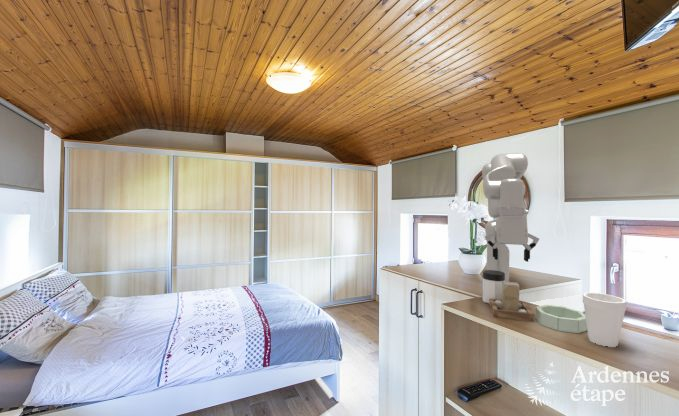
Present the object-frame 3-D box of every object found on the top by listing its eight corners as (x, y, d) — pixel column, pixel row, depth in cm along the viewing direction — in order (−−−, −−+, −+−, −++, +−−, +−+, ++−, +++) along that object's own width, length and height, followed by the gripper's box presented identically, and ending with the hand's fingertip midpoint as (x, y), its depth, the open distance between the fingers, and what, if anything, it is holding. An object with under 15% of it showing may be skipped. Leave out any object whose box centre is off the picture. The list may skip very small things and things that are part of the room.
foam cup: (629, 353, 81) (630, 305, 81) (585, 344, 86) (586, 299, 85) (619, 339, 89) (621, 295, 89) (580, 332, 94) (581, 290, 94)
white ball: (516, 315, 107) (516, 307, 107) (526, 316, 106) (526, 308, 106) (518, 318, 104) (518, 310, 104) (528, 319, 103) (528, 311, 103)
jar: (509, 302, 121) (509, 272, 121) (500, 306, 116) (500, 275, 116) (486, 296, 128) (487, 268, 128) (477, 300, 123) (477, 271, 123)
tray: (489, 305, 118) (489, 298, 118) (524, 308, 114) (524, 302, 114) (494, 317, 106) (494, 310, 106) (533, 321, 102) (533, 314, 102)
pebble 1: (493, 306, 117) (493, 298, 116) (501, 307, 116) (502, 299, 115) (494, 308, 114) (494, 301, 114) (503, 310, 113) (503, 302, 113)
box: (502, 313, 109) (503, 283, 109) (500, 309, 113) (501, 280, 113) (519, 315, 107) (519, 284, 107) (516, 311, 111) (517, 281, 111)
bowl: (532, 314, 108) (533, 303, 108) (576, 319, 104) (576, 307, 104) (543, 328, 96) (543, 316, 96) (593, 335, 92) (593, 322, 92)
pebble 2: (512, 308, 114) (512, 300, 114) (521, 309, 113) (521, 301, 113) (514, 311, 112) (514, 303, 111) (523, 312, 111) (523, 304, 110)
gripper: (536, 213, 110) (535, 260, 110) (484, 212, 116) (483, 257, 116) (542, 213, 103) (541, 263, 103) (486, 212, 109) (485, 260, 109)
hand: (510, 260), depth 109 cm, fingers open, 9 cm apart
